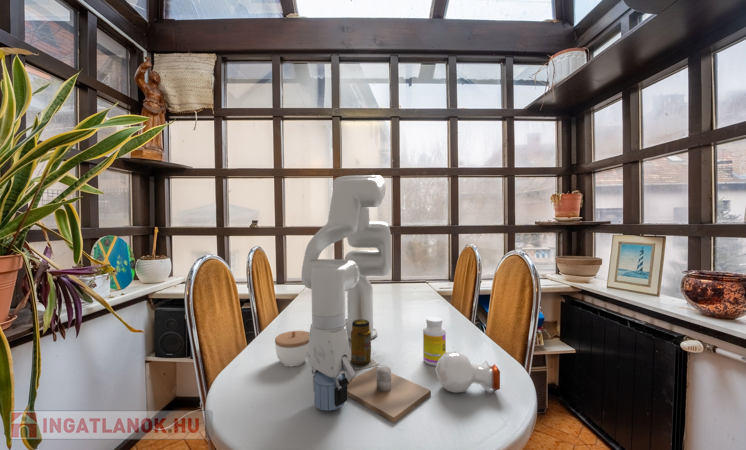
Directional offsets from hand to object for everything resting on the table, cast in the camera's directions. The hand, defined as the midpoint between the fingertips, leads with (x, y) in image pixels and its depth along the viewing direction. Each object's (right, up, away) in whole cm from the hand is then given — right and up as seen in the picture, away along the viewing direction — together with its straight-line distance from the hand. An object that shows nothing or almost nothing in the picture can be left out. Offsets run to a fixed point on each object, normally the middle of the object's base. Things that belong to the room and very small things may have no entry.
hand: (330, 395), depth 70 cm
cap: (0, -1, 0) cm, 1 cm away
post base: (+12, -2, +5) cm, 14 cm away
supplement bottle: (+28, -2, +22) cm, 36 cm away
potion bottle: (+33, -2, +7) cm, 34 cm away
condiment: (+6, -2, +22) cm, 23 cm away
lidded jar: (-14, -3, +22) cm, 27 cm away
